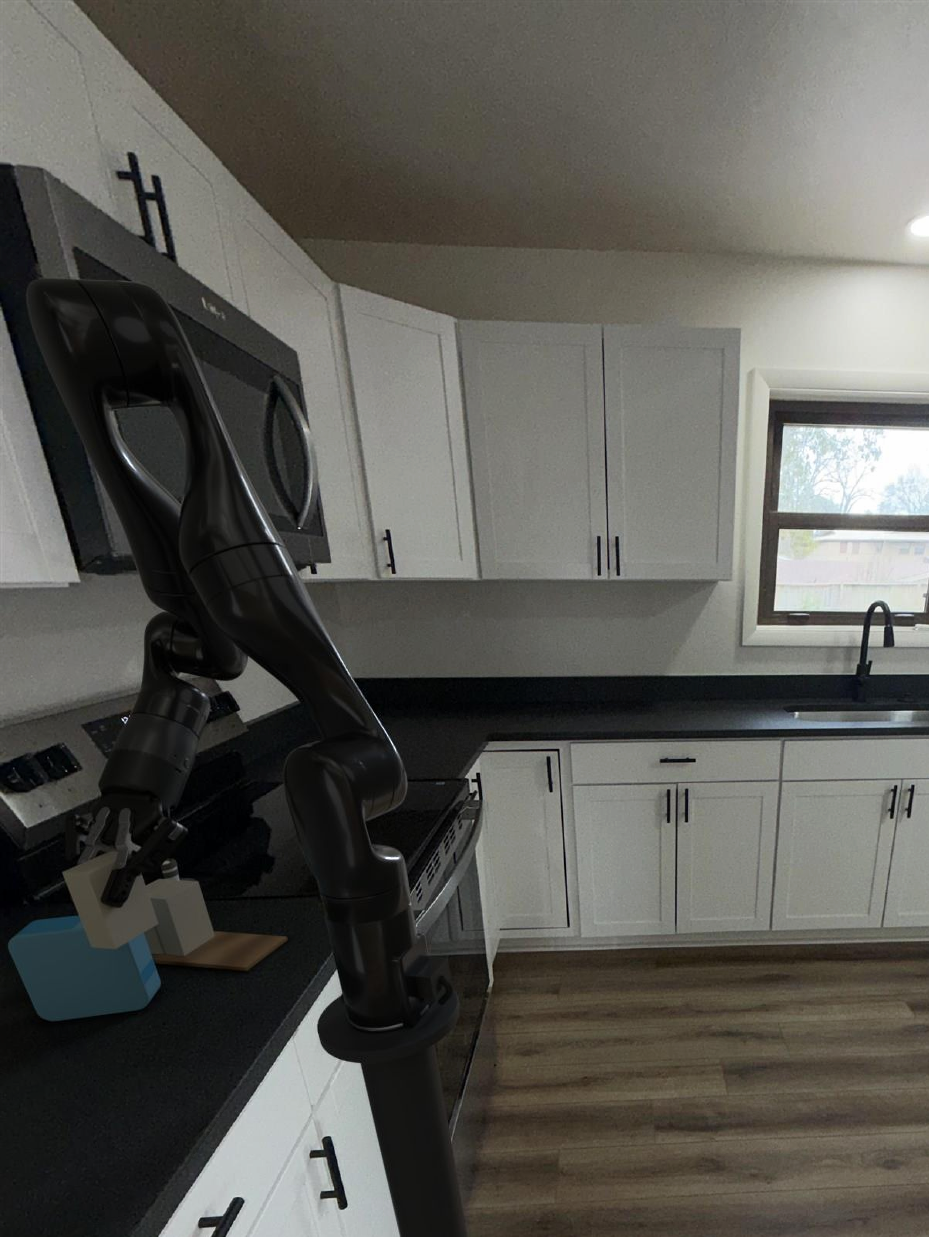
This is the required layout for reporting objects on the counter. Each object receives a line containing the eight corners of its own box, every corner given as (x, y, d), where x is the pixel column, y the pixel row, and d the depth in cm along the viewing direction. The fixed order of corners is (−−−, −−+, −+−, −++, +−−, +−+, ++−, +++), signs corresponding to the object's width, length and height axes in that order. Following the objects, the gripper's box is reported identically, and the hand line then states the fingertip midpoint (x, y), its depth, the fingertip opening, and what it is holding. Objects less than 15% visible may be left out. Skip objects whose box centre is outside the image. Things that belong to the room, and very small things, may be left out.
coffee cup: (173, 905, 117) (164, 877, 115) (113, 899, 119) (103, 871, 117) (228, 876, 128) (220, 850, 126) (171, 871, 130) (163, 846, 128)
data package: (164, 990, 94) (136, 908, 89) (152, 1009, 90) (121, 924, 85) (58, 1004, 91) (22, 920, 86) (40, 1024, 87) (2, 937, 82)
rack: (288, 939, 106) (269, 868, 101) (246, 971, 98) (224, 895, 93) (177, 931, 109) (154, 861, 104) (128, 961, 101) (101, 886, 96)
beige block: (158, 923, 83) (134, 852, 79) (115, 949, 77) (87, 873, 73) (135, 922, 83) (110, 850, 79) (91, 947, 78) (61, 872, 74)
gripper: (69, 744, 79) (4, 888, 74) (182, 748, 78) (125, 896, 72) (123, 777, 86) (69, 911, 81) (228, 781, 85) (180, 919, 79)
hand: (96, 903), depth 76 cm, fingers closed on beige block, 3 cm apart
